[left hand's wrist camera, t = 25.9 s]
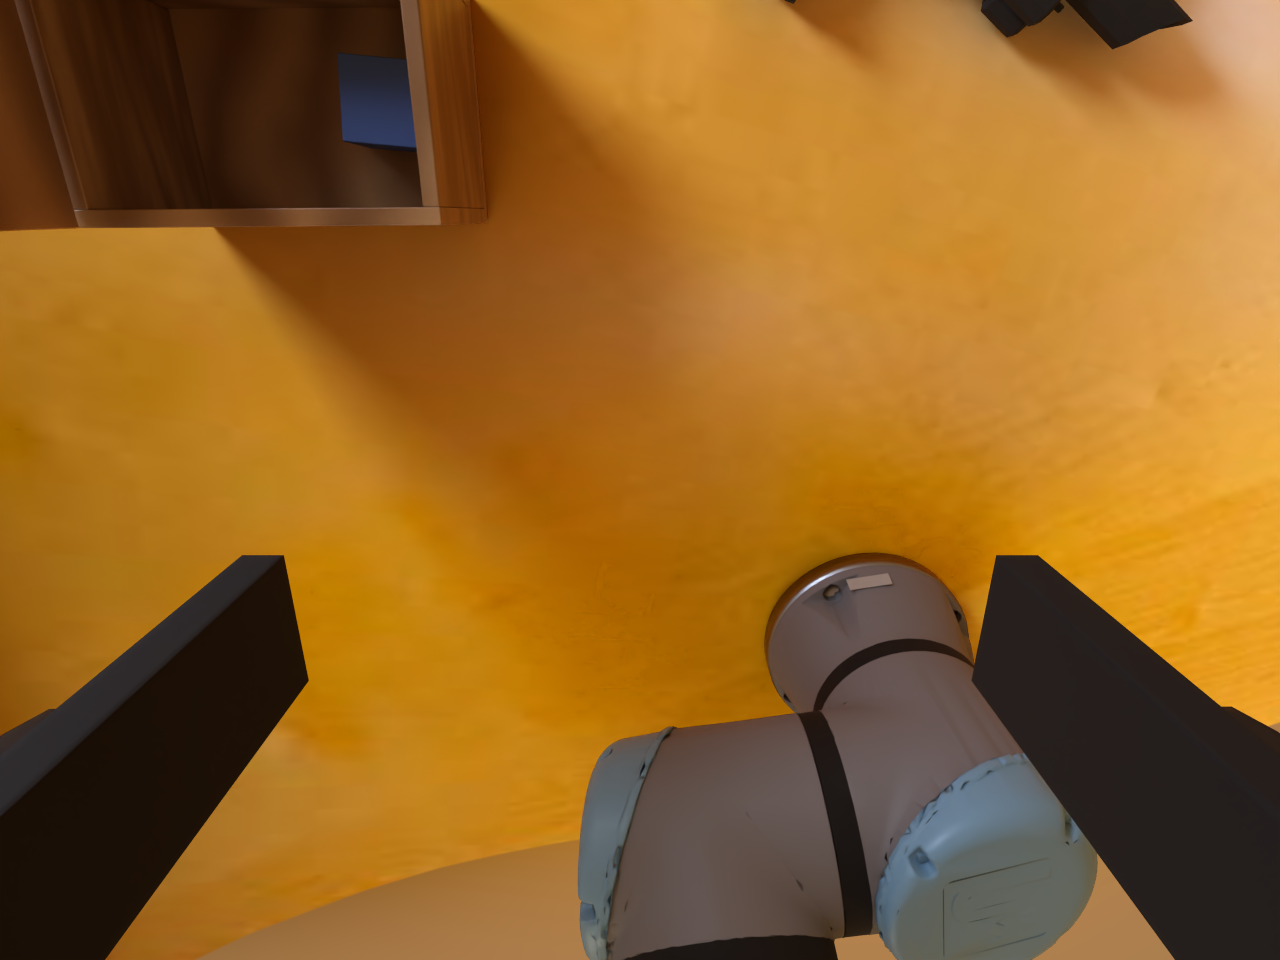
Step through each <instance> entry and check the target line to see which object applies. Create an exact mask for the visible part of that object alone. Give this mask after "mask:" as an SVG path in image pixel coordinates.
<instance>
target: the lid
mask: <svg viewBox="0 0 1280 960" xmlns="http://www.w3.org/2000/svg"><path fill="white" fill-rule="evenodd" d="M71 228H79V226H78V223H77V219H76V215H75V212H74V208H73V205H72V201H71V198H70V194H69V191H68V187H67V184H66V180H65V177H64V173H63V170H62V166H61V162H60V159H59V155H58V152H57V148H56V145H55V141H54V138H53V134H52V131H51V127H50V124H49V120H48V117H47V113H46V109H45V106H44V102H43V99H42V95H41V92H40V88H39V85H38V81H37V78H36V74H35V71H34V67H33V64H32V60H31V56H30V53H29V49H28V46H27V42H26V39H25V35H24V32H23V28H22V25H21V21H20V18H19V14H18V11H17V7H16V3H15V0H0V231H20V230H45V229H71Z"/></svg>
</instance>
